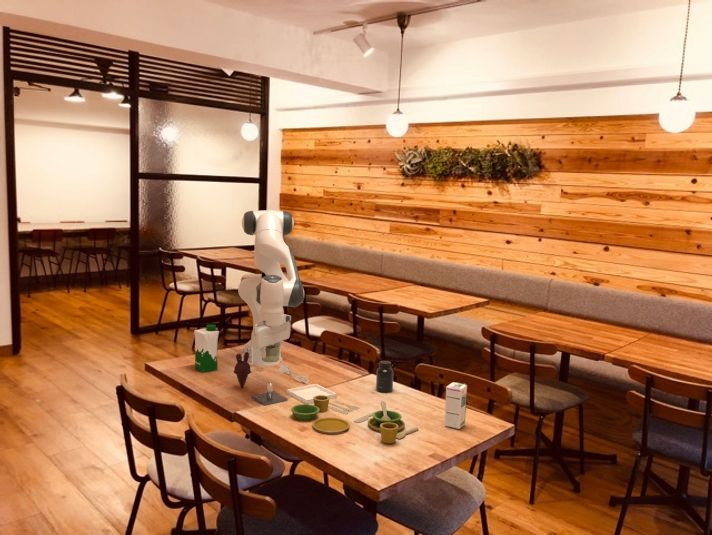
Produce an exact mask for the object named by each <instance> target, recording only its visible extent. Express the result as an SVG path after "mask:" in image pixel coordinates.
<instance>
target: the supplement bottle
mask: <svg viewBox="0 0 712 535" xmlns="http://www.w3.org/2000/svg"><path fill="white" fill-rule="evenodd" d="M378 365H379V367H378V368H377V369H376V378H375V381H376V382H375V383H376V384H375V389H376V391H377V392H379V393H382V394H390V393H392V392H393V390H394V389H393V388H394V369H393V368H392V362H391V361H389V360H380V361H379V364H378Z"/></svg>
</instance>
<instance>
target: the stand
mask: <svg viewBox="0 0 712 535" xmlns="http://www.w3.org/2000/svg"><path fill="white" fill-rule="evenodd" d="M250 396H251V397H250V398H251V399H252V400H254V402H256V403H258V404H260V405H262V406H264V407H266V406H271V405H274V404H279V403H284V402H288V398H287V397H286V396H284V395H282V394H280V393H278V392H276V391H274V390H273V382H267V383H266V392H263V393H258V394H253V395H250Z"/></svg>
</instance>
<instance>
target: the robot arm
mask: <svg viewBox="0 0 712 535" xmlns="http://www.w3.org/2000/svg"><path fill="white" fill-rule="evenodd" d="M294 224H295V220H294V217H293V214H292V213H291V212H290V211H286V210H274V209H268V210H263V209H262V210H248V211H246V212H245V213H244V214H243V217H242V218H241V227H242V230H243V233H245V235H248V236H249V235H250V236H254V237H255V238H254V249H253V252H254V262H253V263H254V265H255V267H256V268H257V269H258V270H259V271H261V272H262V273H264V274H265V276H263V277H262V278H261V277H249V278H244V279H242V280H241V281H240V283H239V285H238V287H237V288H238V290H237V291H238V295H239V297H240V298H241V300H243V301H244V302H245V303H246V304H247V306H248V307H249V309H250V312H251V314H252V321H253V322H252V323H253V324H252V325H253V328H252V331H251V332H250V335H251V336H250V337H251V338H250V340H249V341H248V342H246V343H245V344H244V345H243V348H242V353H240V354H241V356H242V361H244V354H245V352H248V353H249V358H248V361H247V362H248V363H249V365H250V366H258V367H270V366H271V367H272V366H276V365H279V364H280V363H281V361H282V360H283V357H282V356H281V353H282V352H281V349H280V350H279V360H278V361H277V362H264V361H263V360H262V358H266V357H267V354H268V353H267V352H266V351H265V349H266V346H269V345H277V346H279V347H280V348H281V347H282V343H283V341H286V340H287V339H289V338H290V336H291V320H292V316H291V315H289V314H284V307H290V308H291V307H292V308H297V307H299V306H300V305H301V304H302V303H303V302H304V300H305V290H304V287H303V284H302V280H301V277H300V273H299V270H298V266H297V262H296V259H295V255H294V254H295V253H294V252H293V249H292V247H290V246H288V245H287V244H286V243H285V241H284V237H285V236H287V235H290V234H291V233H292V231H293V229H294V226H295V225H294ZM281 264H282V266H284V267H285V269H286V273H287V274H286V275H287V276H286V275H285V274H284V272H283V270H282V266H281ZM287 277H288V278H287Z"/></svg>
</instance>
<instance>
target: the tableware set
mask: <svg viewBox="0 0 712 535" xmlns="http://www.w3.org/2000/svg"><path fill="white" fill-rule="evenodd" d="M313 400H314V403H313V404H305V403H304V404H297V405H293V407H291V409H290V410H291V412H292V414H293V415H294V417H295V418H296V419H297V420H300V421H310V420H313V419H315V417H316V416H317V414H318V413H325V412H327V411H328V409H331V410H332V411H333V412H336V413H338V414H341V415H344V414H345V415H349V413H352V412H355V411H358V409H359V410H360V409H361V408H360V407H359V406H356V405H350V404H346V403H344V402H342V401H341V402H340V401H339V400H334V401H333V403H332V402H330V400H331V399H330V398H329V397H328V396H325V395H317V396H314V397H313ZM334 403H335V404H334ZM337 404H339V405H337ZM329 405H330V406H329ZM340 405H342V406H344V405H345V406H344V407H342V406H340ZM335 407H336V408H335ZM345 407H348V408H345ZM380 407H381V410H377V411H374V412H371V413H369V414H366V415H364V416H361V417H360V418H357V419H354V420H353V423H356V424H360V423H364V422H365V421H367V424H368V426H369V427H370V428H371V429H372V430H373V431H376V432H379V433H380V438H381V439H380V440H381V441H382V443H383V444H389V445H390V444H394V443H395V442H396V440H397V439H398V440H401V439H404V438H405V437H406V436H407V435H409V434H411V433H414V432H415V433H416V432H418V431H419V427H418V426H414V427H411V428H409V429H407V430H405V431H404V432H399V431H401V430H402V429H403V428H405V426H406V422H404V421H403V420H402V415H401V414H400V413H399V412H397V411H393V410H389V409H388V410H387V402H386V401H385V400H382V401H381V402H380ZM341 409H342V410H341ZM350 425H351V424H350V422H348V420H345V419H343V418H339V417H320V418H317V419H315V420H314V421H312V424H311V426H312V427H313V428H314V429H315V430H316V431H317V432H320V433H322V434H327V435H335V434H341V433H344V432H345V431H347V430H348V429H349V428H350V427H351V426H350Z"/></svg>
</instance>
